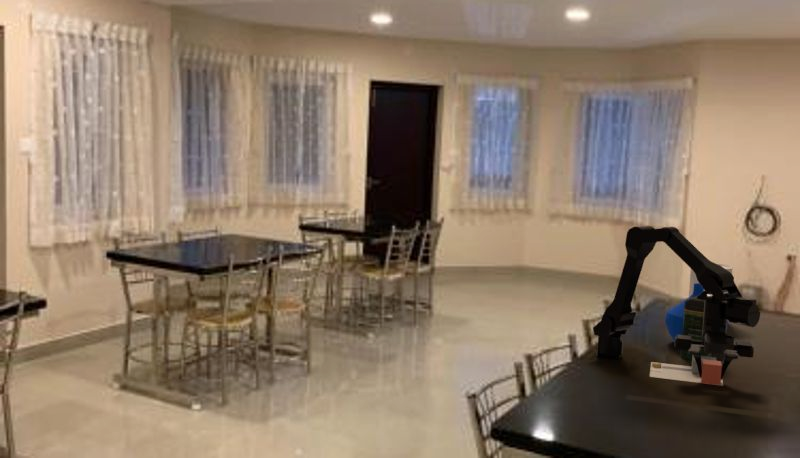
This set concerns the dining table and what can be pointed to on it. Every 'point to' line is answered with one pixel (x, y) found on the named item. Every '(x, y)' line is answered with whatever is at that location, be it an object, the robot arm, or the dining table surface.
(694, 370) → the breaker toggle
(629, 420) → the dining table surface
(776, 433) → the dining table surface
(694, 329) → the coffee jar
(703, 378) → the cap
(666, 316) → the vase
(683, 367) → the panel
